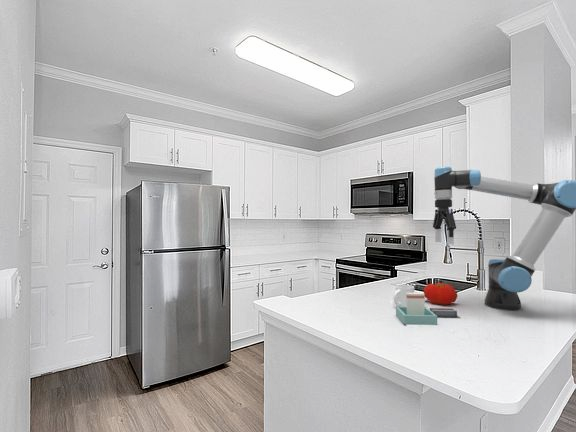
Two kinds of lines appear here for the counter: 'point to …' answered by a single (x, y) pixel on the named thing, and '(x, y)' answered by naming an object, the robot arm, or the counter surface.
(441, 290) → the tomato
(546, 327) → the counter surface
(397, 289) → the mug
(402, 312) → the tray
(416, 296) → the cream red-striped panel
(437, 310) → the metal rectangular holder
